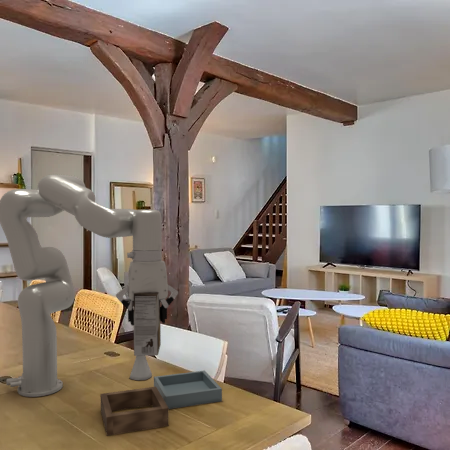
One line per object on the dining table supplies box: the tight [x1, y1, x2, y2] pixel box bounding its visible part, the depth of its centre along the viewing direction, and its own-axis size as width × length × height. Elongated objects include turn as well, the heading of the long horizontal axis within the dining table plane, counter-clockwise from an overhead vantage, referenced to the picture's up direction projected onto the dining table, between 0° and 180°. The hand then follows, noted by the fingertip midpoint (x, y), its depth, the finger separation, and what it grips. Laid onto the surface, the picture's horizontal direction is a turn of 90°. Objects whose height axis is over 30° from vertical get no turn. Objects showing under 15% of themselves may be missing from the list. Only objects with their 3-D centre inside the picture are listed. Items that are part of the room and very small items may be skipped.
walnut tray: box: [100, 386, 170, 437], centre depth 122 cm, size 15×15×4 cm
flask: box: [129, 356, 153, 381], centre depth 151 cm, size 7×7×10 cm
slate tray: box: [153, 369, 223, 410], centre depth 137 cm, size 16×16×4 cm
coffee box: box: [133, 292, 162, 357], centre depth 125 cm, size 9×6×16 cm
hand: (147, 322), depth 125 cm, fingers closed on coffee box, 7 cm apart
